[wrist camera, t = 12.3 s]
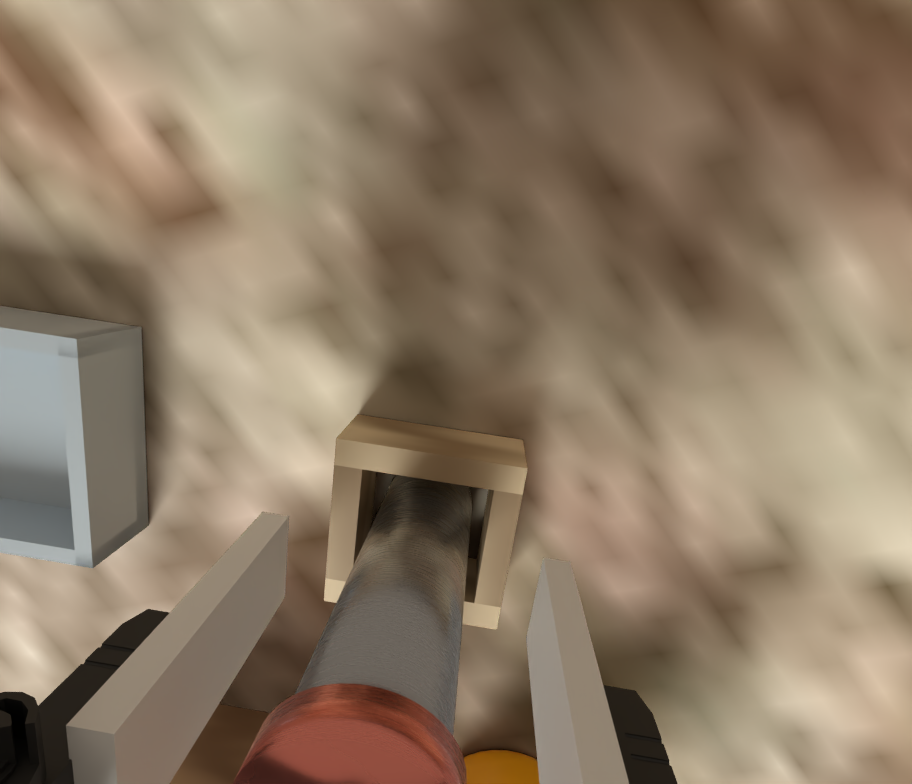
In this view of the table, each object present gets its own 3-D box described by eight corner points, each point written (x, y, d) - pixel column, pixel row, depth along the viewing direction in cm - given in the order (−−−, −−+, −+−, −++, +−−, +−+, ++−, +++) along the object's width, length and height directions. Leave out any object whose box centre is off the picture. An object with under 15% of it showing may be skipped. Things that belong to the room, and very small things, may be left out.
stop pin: (375, 537, 19) (223, 895, 8) (384, 446, 18) (225, 720, 7) (472, 553, 19) (446, 937, 8) (487, 463, 18) (480, 765, 7)
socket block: (345, 557, 19) (324, 600, 17) (357, 414, 17) (336, 438, 15) (496, 583, 19) (496, 629, 16) (522, 439, 17) (527, 468, 15)
